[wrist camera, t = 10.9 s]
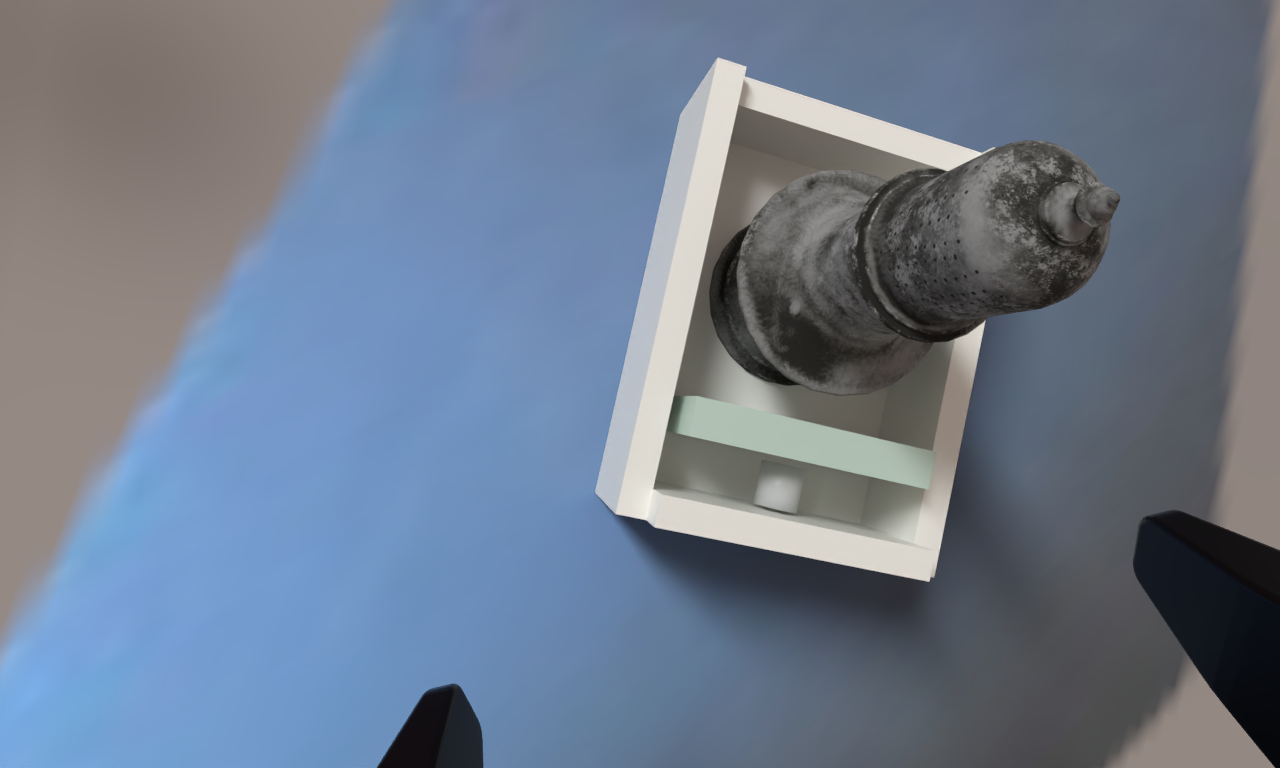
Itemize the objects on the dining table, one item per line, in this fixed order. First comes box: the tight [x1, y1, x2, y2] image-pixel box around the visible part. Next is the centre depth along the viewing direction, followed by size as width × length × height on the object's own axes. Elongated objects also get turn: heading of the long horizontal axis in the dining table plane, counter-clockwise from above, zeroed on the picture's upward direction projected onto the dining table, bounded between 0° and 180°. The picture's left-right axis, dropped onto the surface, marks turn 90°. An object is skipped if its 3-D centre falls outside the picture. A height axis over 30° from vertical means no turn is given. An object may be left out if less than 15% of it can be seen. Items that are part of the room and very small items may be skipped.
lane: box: [595, 58, 995, 582], centre depth 21 cm, size 12×9×5 cm
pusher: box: [666, 396, 936, 490], centre depth 20 cm, size 1×7×4 cm, turn 77°
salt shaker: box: [709, 141, 1120, 396], centre depth 17 cm, size 6×6×12 cm
